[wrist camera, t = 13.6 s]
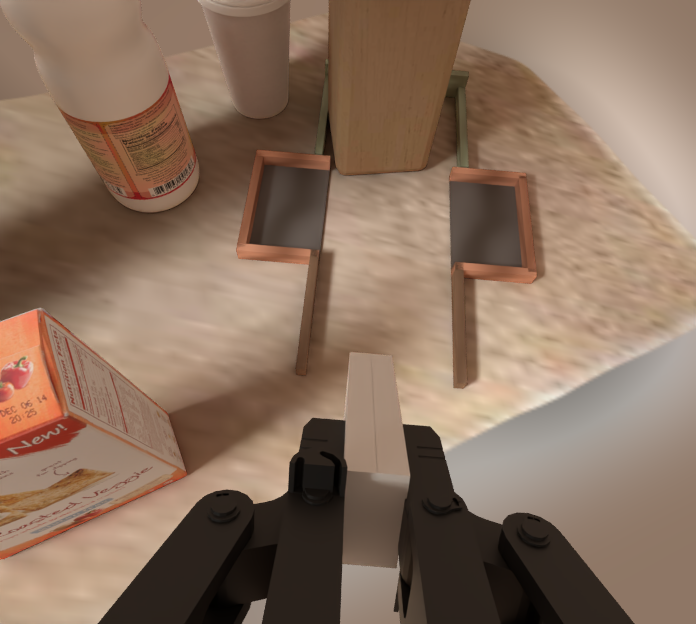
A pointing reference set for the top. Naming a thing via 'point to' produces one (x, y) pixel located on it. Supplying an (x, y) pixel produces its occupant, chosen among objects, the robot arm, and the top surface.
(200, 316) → the top surface
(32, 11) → the fruit juice
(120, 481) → the cracker box
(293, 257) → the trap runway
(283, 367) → the top surface
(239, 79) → the coffee cup
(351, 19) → the wooden block
